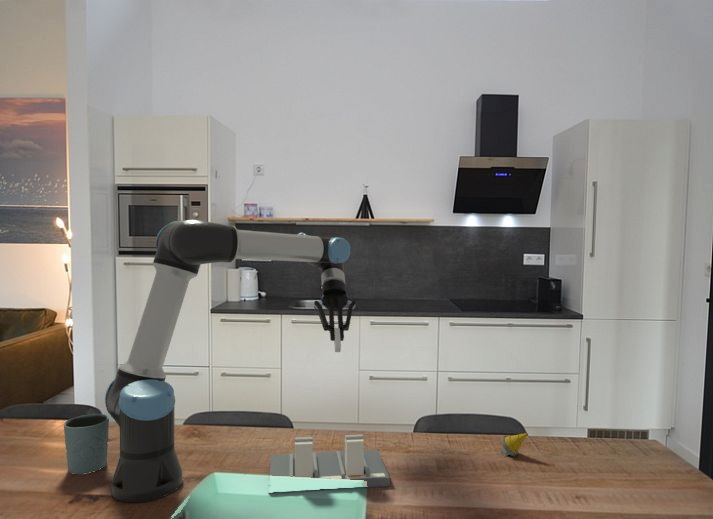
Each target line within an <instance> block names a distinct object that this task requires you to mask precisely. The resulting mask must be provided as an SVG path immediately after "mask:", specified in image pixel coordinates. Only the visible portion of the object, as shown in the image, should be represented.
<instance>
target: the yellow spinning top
mask: <svg viewBox="0 0 713 519" xmlns="http://www.w3.org/2000/svg"><path fill="white" fill-rule="evenodd" d="M528 435H529V432H526V433H521V434H516V435H515V434H514V435H512V436H511V435H510V436H507V435H505V436H502V437H501V439H500V443H501V445H502V449H501V450H500V453H501V454H502V455H503V456H505V457H508V456H509V455H510V456H511V457H515V456H517V455H518V454H519V449H520V448H521V446H522V444H523V443H524V442H525V440H526V438H527V437H528Z"/></svg>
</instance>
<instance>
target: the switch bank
mask: <svg viewBox="0 0 713 519" xmlns="http://www.w3.org/2000/svg"><path fill="white" fill-rule="evenodd" d="M269 475H272V476H290V477H293V476H295V453H293V452H292V453H291V452H290V453H283V454H280V453H279V454H271V455H270V466H269ZM313 478H331V479H350V480H364V481H367V486H368V487H367V488H381V487H390V486H391V484H390V483H391V477H390V475H389V472H388V470H387V468H386V466H385V463H384V461H383V459H382V456H381V455H380V452H379V450H378V449H374V448H373V449H364V475H351V476H347V475H346V471H345V450H341V451H340V450H336V451H319V452H318V451H317V452H316V451H313ZM379 486H380V487H379Z"/></svg>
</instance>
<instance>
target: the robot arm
mask: <svg viewBox="0 0 713 519" xmlns="http://www.w3.org/2000/svg"><path fill="white" fill-rule="evenodd" d="M155 238H156V239H155V250H156V252H155V254H154V257H153V262H152V265H153V267H154V268H155V272H156V273H155V274H154V278H153V281H152V284H151V288H150V291H149V294H148V297H147V299H146V302H145V307H144V309H143V312H142V315H141V319H140V321H139V326H138V328H137V331H136V335H135V337H134V341H133V344H132V346H131V350H130V353H129V356H128V359H127V361H126V362H125V363H122V364H121V365H119V366H118V368H117V372H116V375H115V378H114V379H113V380H112V381H111V382H110V383H109V384H108V387H107V389H106V391H105V395H104V396H105V397H104V402H105V408H106V411H107V413H108V414H109V416H110V417H111V418H112V419H113V420H114V421H115V423H116V424H117V425H118V427H119V459H118V462H117V465H116V467H115V471H114V474H113V477H112V480H111V485H110V486H111V496H112V497H113V498H114V499H116V500H118V501H120V502H125V503H143V502H149V501H153V499H154V500H157V499H156V498H158V499H159V498H160V497H161V498H163V497H165V496H164V495H166V496H168V495H170V494H171V492H172V491H173V492H175V491H176V490H177V489H179V488H180V486H181V485H182V483H183V470H182V469H183V468H182V466H181V464H180V463H181V462H180V460H179V458H178V455H177V453H176V449H175V405H176V398H175V397H176V396H175V391H174V388H173V386H172V385H171V384H170V383H169V382H167V381H166V378H167V374H166V373H165V371H164V369H163V367H164V364H165V361H166V357H167V354H168V350H169V348H170V344H171V342H172V337H173V335H174V331H175V329H176V325H177V323H178V318H179V317H180V316H179V315H180V312H181V309H182V306H183V302H184V299H185V296H186V293H187V290H188V287H189V283H190V281H191V280H192V279H193V278H196V277H197V276H198V274H199V270H200V268H201V265H206V264H214V263H215V264H216V263H217V264H218V263H233V262H234V261H235V260H254V261H255V260H256V261H257V260H258V261H277V262H278V261H280V262H281V261H284V262H306V263H307V264H308V265H310V266H313V267H314V268H316V269H318V270H320V277H321V298H320V300H315V301H314V304H313V308H314V309H315V310H316V312H317V314H318V317H319V319H320V320H319V321H320V323H321V325H322V329H323V331H324V332H327V331H328V332H329V335H330V336H329V338H330V341H331V342H334V352H335V353H340V352H341V349H342V343H341V342H342V341H343V342H344V340H345V333H344V332H345V331H347V332H348V331H349V329H350V324H351V321H352V320H351V319H352V315H353V314H352V313H353V311H354V310H355V309H356V305H357V304H356V300H352V301H351V300H349V297H348V295H347V288H346V277H345V275H346V274H345V264H344V263H345V262H346V261H347V260H349V258H350V255H351V245H350V243H349V242H348V240H346V238H344V237H338V236H334V237H328V236H316V235H309V234H306V233H304V232H299V233H297V234H295V233H294V234H292V233H282V232H281V233H280V232H269V231H256V230H255V231H254V230H245V229H237V227H236V226H234V224H233V225H230V224H222V223H218V222H217V223H216V222H211V221H206V220H202V219H201V220H200V219H193V218H192V219H187V220H175V221H172V222H169V223H167V224H166V225H165V226H163V227H162V228H161V229H160V230H159V232H158V233H157V235H156V237H155ZM323 307H324V308H325V309H326V310H328V320H327V317H326V314H325V311H324V308H323ZM346 307H347V314H346V318H345V324H344V320H343V318H344V316H343V309H344V308H346ZM334 312H336V314H337V327H335V314H334ZM328 322H329V323H328ZM180 484H181V485H180ZM176 488H177V489H176ZM175 489H176V490H175ZM174 490H175V491H174ZM173 492H172V493H173ZM169 493H170V494H169ZM167 494H168V495H167ZM162 496H163V497H162ZM161 498H160V499H161Z"/></svg>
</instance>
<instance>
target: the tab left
mask: <svg viewBox="0 0 713 519" xmlns="http://www.w3.org/2000/svg"><path fill="white" fill-rule="evenodd" d="M313 439H314V438H313V436H304V437H303V436H301V437H294V454H295V477H311V478H313V452H314V451H313V446H314V444H313V442H314V440H313Z"/></svg>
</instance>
